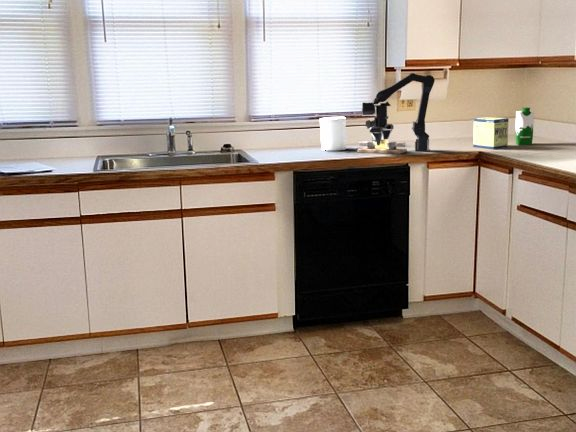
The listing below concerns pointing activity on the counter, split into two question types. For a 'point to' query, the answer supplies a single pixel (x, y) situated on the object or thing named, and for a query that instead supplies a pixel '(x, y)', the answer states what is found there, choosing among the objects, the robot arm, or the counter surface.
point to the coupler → (382, 144)
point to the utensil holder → (333, 133)
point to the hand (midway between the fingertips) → (381, 144)
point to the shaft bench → (390, 150)
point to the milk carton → (524, 126)
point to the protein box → (490, 133)
